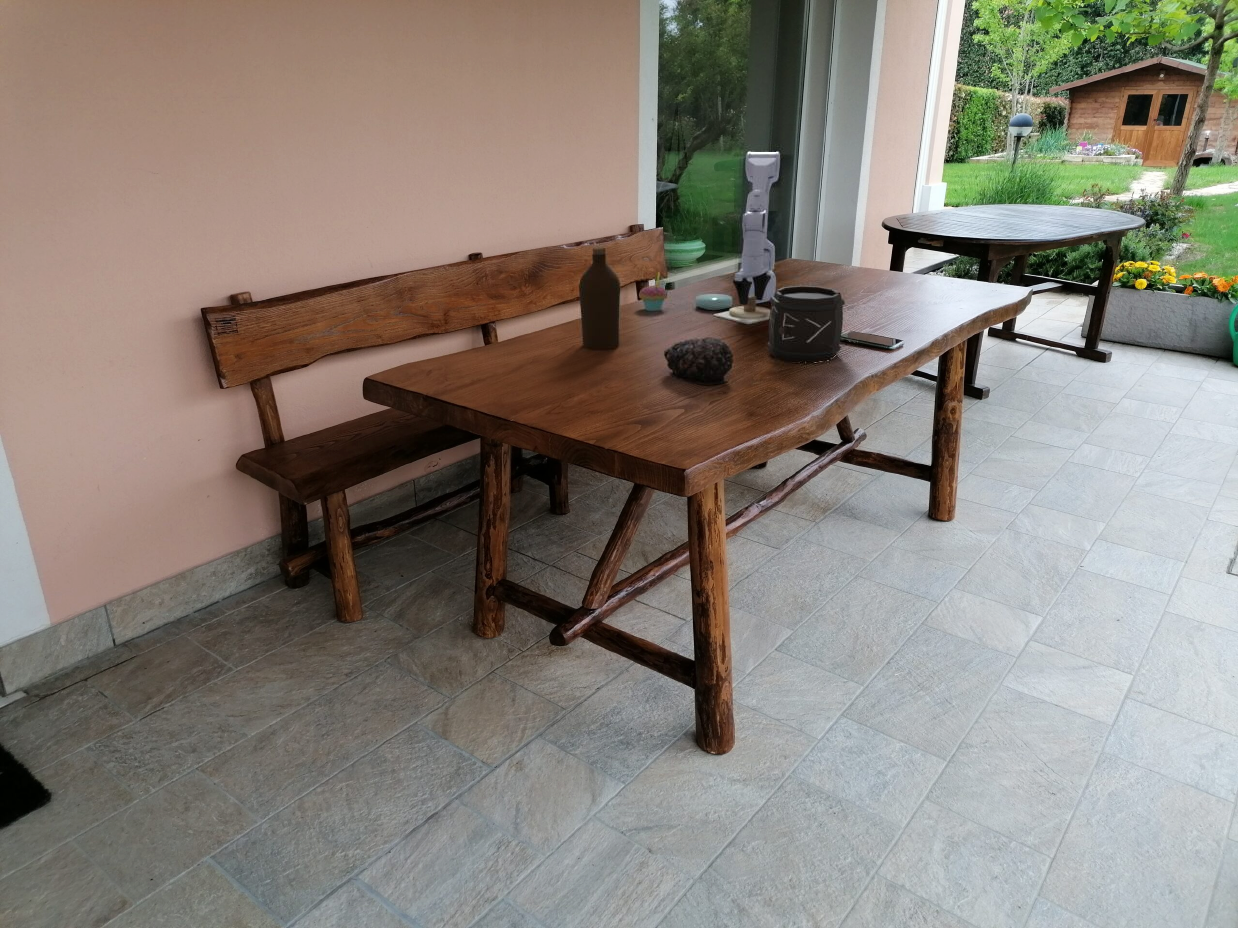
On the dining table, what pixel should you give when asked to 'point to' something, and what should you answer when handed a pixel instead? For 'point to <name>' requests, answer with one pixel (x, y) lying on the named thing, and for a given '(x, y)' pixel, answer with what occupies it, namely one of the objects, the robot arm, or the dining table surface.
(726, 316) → the mat
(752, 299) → the lid
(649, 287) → the cupcake
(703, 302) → the light blue flat disc
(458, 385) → the dining table surface
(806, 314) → the dark grey barrel
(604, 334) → the olive oil
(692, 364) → the pine cone
